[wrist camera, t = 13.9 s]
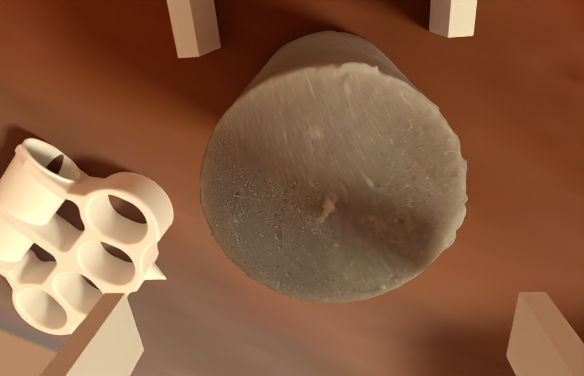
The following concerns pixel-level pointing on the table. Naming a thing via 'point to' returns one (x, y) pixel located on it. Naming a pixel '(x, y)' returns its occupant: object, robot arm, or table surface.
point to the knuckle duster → (73, 236)
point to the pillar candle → (332, 174)
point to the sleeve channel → (205, 37)
